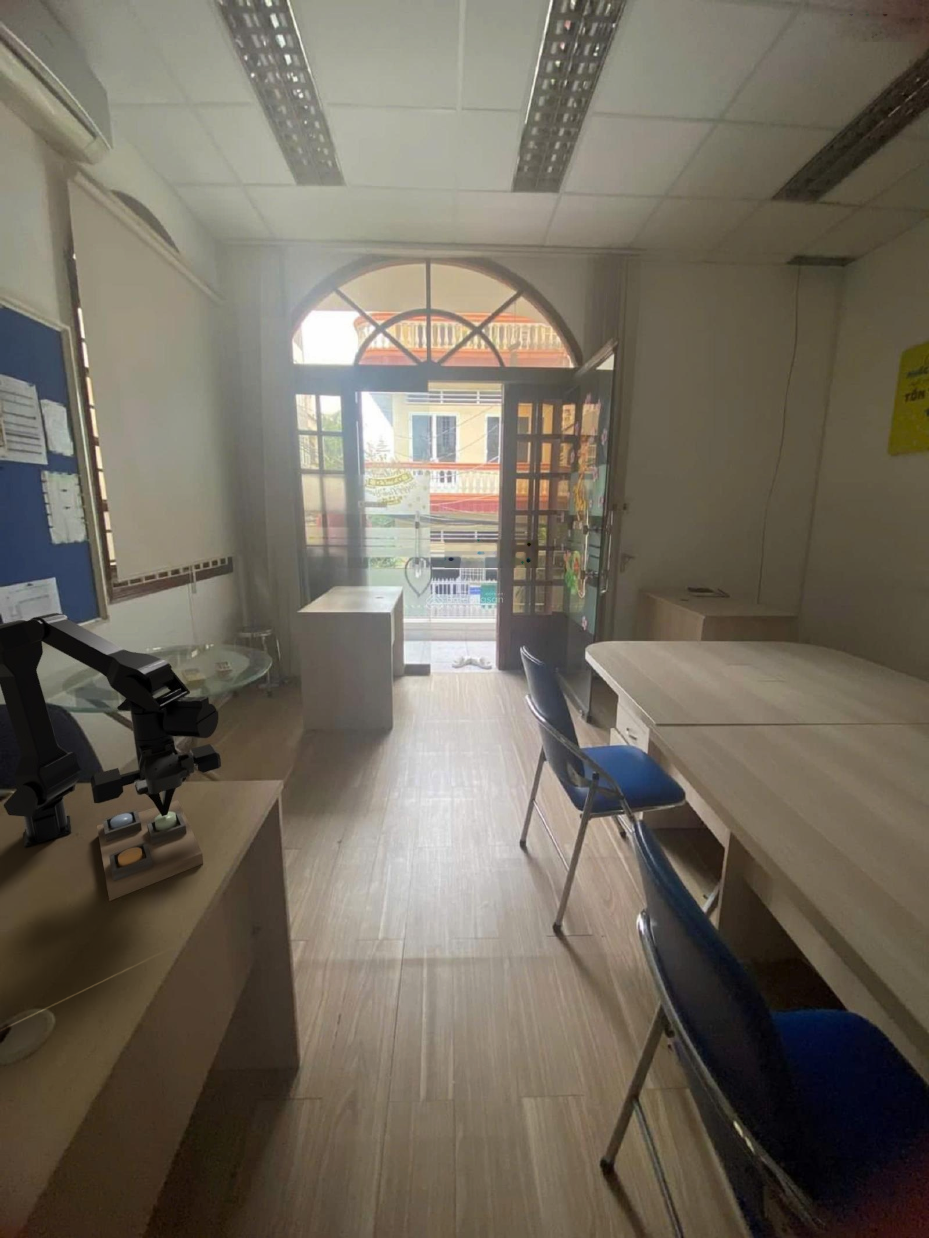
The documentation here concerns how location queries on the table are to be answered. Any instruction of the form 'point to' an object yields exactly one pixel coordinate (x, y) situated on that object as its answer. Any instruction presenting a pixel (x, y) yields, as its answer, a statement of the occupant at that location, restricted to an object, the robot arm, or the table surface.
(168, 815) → the sage button
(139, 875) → the console
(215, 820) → the table surface
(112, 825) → the slate blue button
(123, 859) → the orange button
